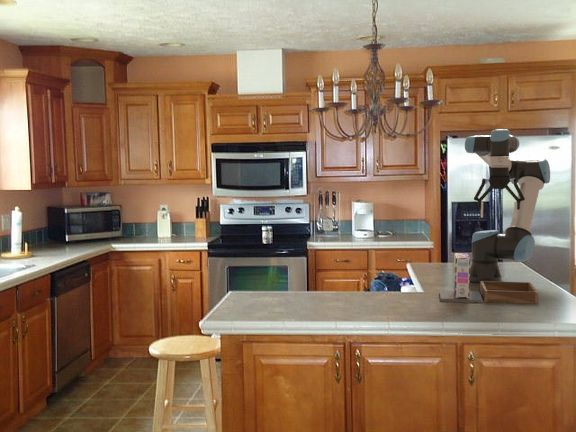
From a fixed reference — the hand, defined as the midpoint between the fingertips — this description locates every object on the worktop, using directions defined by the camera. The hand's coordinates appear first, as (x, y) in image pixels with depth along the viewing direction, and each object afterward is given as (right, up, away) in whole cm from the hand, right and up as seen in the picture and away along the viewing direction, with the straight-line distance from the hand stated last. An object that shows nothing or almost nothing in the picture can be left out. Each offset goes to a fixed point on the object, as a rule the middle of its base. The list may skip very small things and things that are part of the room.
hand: (498, 217), depth 274 cm
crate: (+1, -33, -8) cm, 34 cm away
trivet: (-18, -33, -8) cm, 39 cm away
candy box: (-18, -32, -9) cm, 38 cm away
